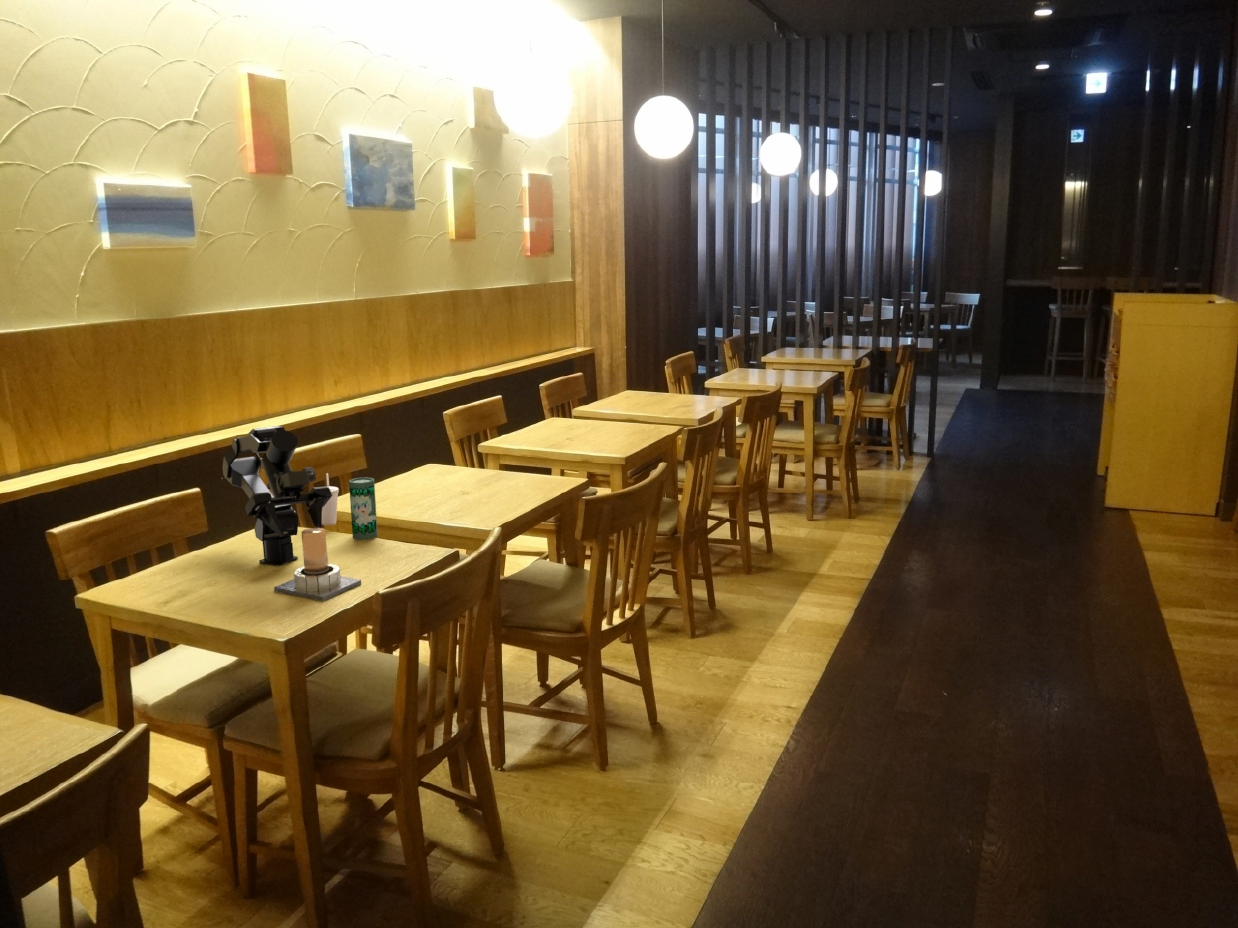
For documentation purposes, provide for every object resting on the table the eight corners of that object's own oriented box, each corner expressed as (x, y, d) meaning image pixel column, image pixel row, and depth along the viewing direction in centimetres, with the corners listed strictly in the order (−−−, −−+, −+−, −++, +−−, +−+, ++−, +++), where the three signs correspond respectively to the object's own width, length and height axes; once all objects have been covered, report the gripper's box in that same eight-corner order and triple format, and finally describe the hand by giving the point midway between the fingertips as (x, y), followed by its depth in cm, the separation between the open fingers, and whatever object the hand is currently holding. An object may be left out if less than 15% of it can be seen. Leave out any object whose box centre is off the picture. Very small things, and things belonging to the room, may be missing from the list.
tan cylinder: (301, 587, 214) (296, 534, 211) (311, 578, 219) (306, 527, 216) (324, 587, 213) (320, 535, 210) (333, 579, 218) (329, 527, 215)
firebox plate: (274, 591, 214) (272, 573, 213) (313, 575, 224) (312, 558, 223) (322, 601, 208) (321, 583, 207) (361, 583, 218) (360, 566, 217)
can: (351, 540, 251) (348, 483, 247) (354, 533, 256) (350, 478, 253) (376, 539, 251) (372, 482, 248) (378, 532, 257) (374, 477, 254)
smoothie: (334, 527, 262) (330, 476, 259) (312, 526, 263) (308, 475, 260) (345, 520, 268) (341, 471, 265) (324, 519, 269) (320, 470, 266)
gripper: (252, 458, 213) (274, 519, 208) (329, 452, 227) (352, 510, 221) (235, 485, 220) (256, 545, 215) (311, 477, 234) (333, 534, 228)
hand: (301, 532), depth 220 cm, fingers open, 9 cm apart
